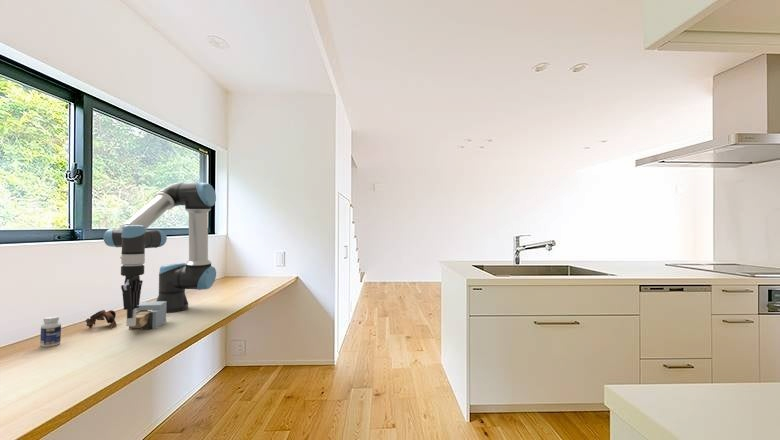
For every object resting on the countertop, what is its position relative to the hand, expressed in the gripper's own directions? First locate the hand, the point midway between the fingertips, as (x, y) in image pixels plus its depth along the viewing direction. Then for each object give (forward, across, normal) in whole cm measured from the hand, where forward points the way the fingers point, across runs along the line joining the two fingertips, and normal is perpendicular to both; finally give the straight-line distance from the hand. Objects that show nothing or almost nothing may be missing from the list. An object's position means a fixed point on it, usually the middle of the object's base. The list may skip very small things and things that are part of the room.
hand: (131, 325), depth 145 cm
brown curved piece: (+5, -16, -17) cm, 24 cm away
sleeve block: (+4, -17, 0) cm, 17 cm away
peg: (+2, -9, 0) cm, 9 cm away
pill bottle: (+4, +6, -23) cm, 24 cm away
